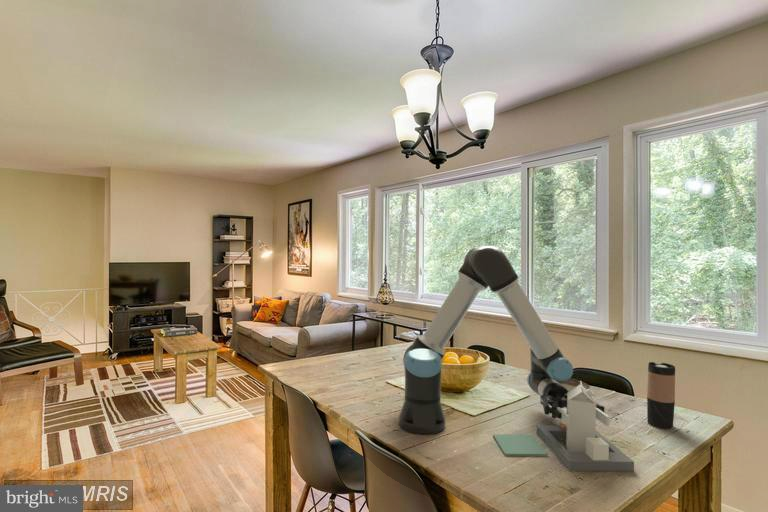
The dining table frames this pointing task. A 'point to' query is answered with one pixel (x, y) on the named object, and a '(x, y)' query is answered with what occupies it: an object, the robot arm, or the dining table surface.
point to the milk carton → (580, 418)
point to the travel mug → (661, 395)
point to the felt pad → (519, 445)
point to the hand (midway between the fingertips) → (588, 421)
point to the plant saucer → (573, 384)
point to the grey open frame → (596, 455)
